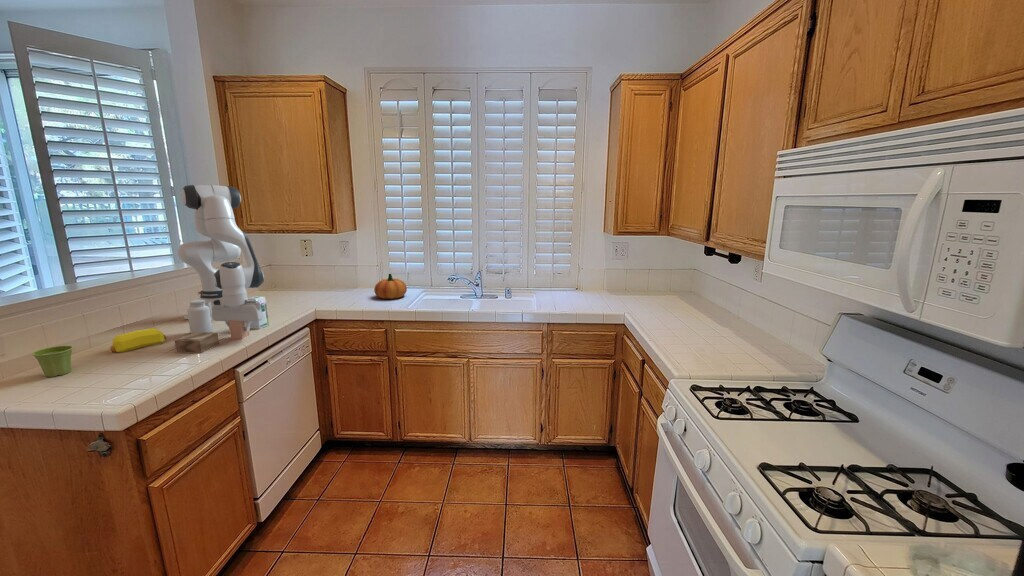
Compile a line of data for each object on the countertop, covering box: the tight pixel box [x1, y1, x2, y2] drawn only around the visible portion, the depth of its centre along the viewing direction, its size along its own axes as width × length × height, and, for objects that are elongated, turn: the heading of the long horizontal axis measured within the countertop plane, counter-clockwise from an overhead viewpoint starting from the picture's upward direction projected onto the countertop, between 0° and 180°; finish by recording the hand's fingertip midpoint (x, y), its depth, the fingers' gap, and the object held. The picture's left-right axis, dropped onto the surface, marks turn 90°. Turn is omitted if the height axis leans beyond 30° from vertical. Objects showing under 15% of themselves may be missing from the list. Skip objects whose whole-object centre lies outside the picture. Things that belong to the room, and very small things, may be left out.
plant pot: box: [31, 345, 74, 378], centre depth 141 cm, size 9×9×9 cm
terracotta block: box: [228, 321, 251, 340], centre depth 180 cm, size 5×5×8 cm
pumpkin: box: [373, 273, 408, 300], centre depth 256 cm, size 19×19×15 cm
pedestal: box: [174, 332, 220, 354], centre depth 166 cm, size 10×10×5 cm
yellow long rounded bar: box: [109, 327, 167, 353], centre depth 168 cm, size 18×7×8 cm
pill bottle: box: [186, 299, 213, 334], centre depth 184 cm, size 8×8×15 cm
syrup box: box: [247, 295, 270, 330], centre depth 194 cm, size 6×6×14 cm
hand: (239, 330), depth 180 cm, fingers closed on terracotta block, 5 cm apart
